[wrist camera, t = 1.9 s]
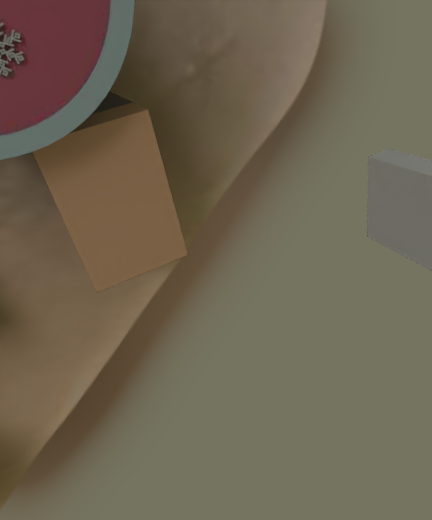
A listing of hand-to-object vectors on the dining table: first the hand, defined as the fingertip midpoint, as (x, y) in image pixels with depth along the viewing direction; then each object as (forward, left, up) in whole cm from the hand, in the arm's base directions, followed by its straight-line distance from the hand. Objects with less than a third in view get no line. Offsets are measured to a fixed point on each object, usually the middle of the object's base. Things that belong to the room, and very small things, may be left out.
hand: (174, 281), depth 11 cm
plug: (0, 0, -14) cm, 14 cm away
